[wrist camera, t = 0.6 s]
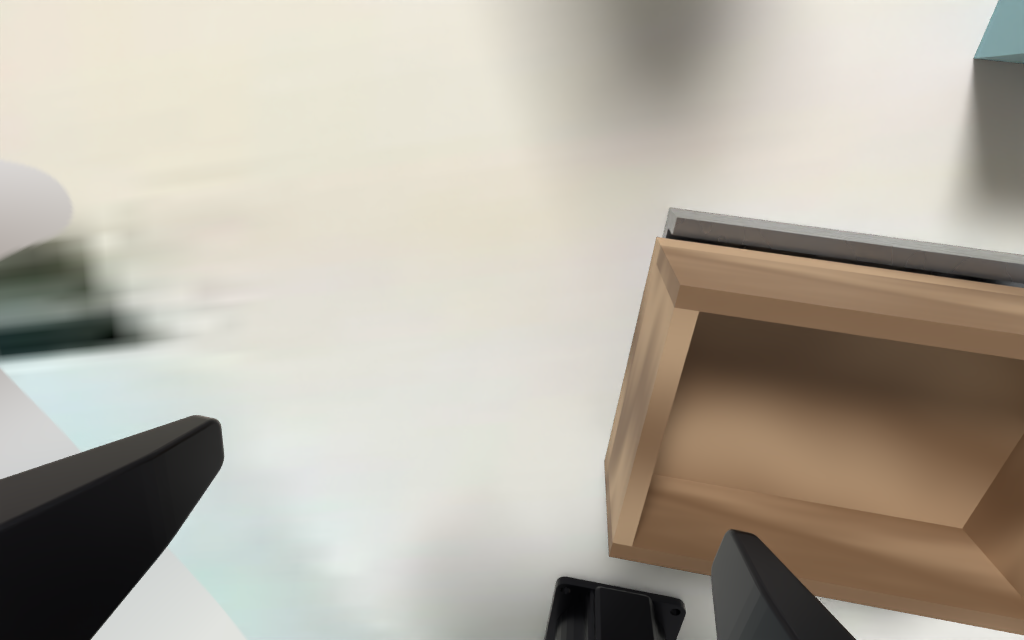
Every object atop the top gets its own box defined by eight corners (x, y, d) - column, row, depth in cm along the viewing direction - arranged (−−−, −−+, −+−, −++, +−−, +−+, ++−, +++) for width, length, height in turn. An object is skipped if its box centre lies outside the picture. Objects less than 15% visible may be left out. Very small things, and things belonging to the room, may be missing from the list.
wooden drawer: (933, 499, 20) (1055, 641, 15) (603, 442, 21) (609, 556, 16) (1062, 284, 16) (1286, 373, 11) (652, 228, 17) (680, 285, 12)
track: (1127, 530, 21) (1168, 563, 19) (614, 441, 22) (615, 465, 21) (1323, 295, 16) (1395, 314, 15) (669, 207, 18) (676, 217, 17)
